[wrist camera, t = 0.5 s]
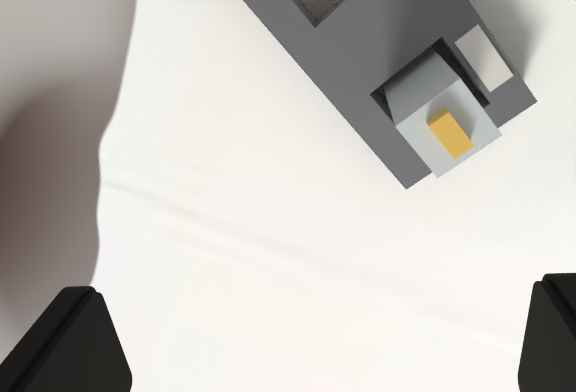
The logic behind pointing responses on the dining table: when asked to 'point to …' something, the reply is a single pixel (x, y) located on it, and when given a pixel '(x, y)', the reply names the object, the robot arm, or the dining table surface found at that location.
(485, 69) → the panel
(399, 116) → the plug
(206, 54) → the dining table surface
